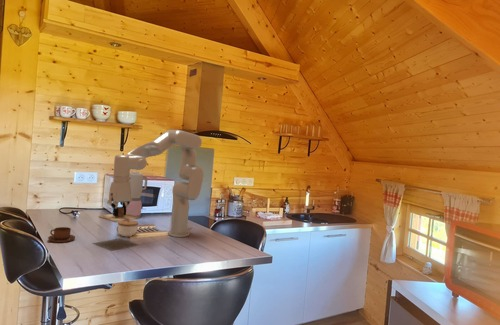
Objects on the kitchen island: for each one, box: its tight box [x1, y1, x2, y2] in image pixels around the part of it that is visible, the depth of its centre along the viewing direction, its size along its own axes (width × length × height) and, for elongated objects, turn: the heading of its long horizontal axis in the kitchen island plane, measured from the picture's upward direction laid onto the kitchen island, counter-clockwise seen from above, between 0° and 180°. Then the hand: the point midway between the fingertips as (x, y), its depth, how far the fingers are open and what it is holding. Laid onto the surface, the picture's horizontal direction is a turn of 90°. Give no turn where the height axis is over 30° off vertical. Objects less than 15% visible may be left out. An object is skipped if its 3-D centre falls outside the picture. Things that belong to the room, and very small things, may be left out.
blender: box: [126, 171, 148, 218], centre depth 242 cm, size 16×12×32 cm
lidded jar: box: [117, 220, 139, 238], centre depth 193 cm, size 11×11×9 cm
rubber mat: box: [92, 238, 139, 252], centre depth 175 cm, size 16×16×1 cm
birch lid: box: [98, 206, 141, 223], centre depth 175 cm, size 14×14×5 cm
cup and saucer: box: [47, 226, 76, 243], centre depth 173 cm, size 12×12×6 cm
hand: (119, 214), depth 175 cm, fingers closed on birch lid, 4 cm apart
